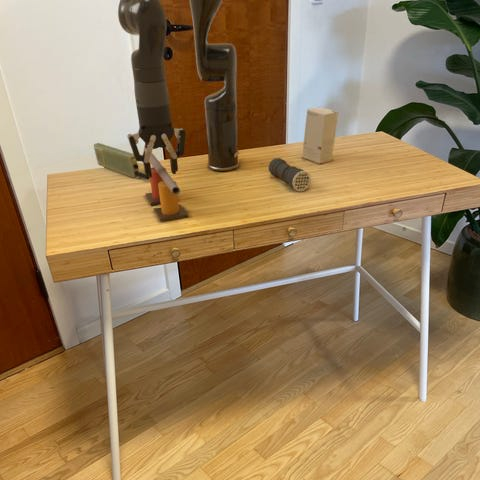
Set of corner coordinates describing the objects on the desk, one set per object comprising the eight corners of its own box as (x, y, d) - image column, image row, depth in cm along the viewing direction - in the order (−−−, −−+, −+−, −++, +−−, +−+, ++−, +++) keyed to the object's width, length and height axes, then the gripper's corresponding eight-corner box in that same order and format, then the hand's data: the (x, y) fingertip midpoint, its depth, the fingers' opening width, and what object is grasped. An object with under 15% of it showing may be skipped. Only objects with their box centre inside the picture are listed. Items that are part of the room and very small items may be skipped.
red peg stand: (145, 196, 126) (141, 167, 121) (170, 192, 128) (167, 163, 123) (151, 205, 121) (146, 175, 116) (176, 201, 123) (173, 171, 118)
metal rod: (172, 195, 105) (171, 187, 104) (147, 160, 125) (146, 153, 124) (180, 194, 106) (179, 185, 104) (154, 159, 126) (153, 152, 125)
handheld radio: (105, 162, 150) (153, 179, 136) (96, 165, 148) (144, 183, 134) (100, 141, 146) (149, 157, 132) (91, 144, 144) (140, 160, 130)
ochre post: (154, 211, 118) (149, 180, 113) (180, 206, 120) (177, 176, 115) (160, 222, 113) (156, 190, 108) (188, 217, 114) (184, 185, 110)
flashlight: (266, 176, 137) (266, 157, 133) (282, 173, 138) (282, 154, 135) (293, 193, 125) (293, 173, 122) (309, 189, 127) (311, 170, 124)
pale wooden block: (301, 158, 149) (304, 108, 140) (315, 154, 152) (318, 105, 143) (320, 164, 144) (324, 113, 135) (333, 160, 146) (338, 110, 138)
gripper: (178, 95, 110) (185, 166, 120) (118, 101, 106) (130, 174, 116) (187, 101, 104) (193, 175, 114) (123, 108, 100) (136, 184, 111)
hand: (161, 174), depth 115 cm, fingers open, 5 cm apart
